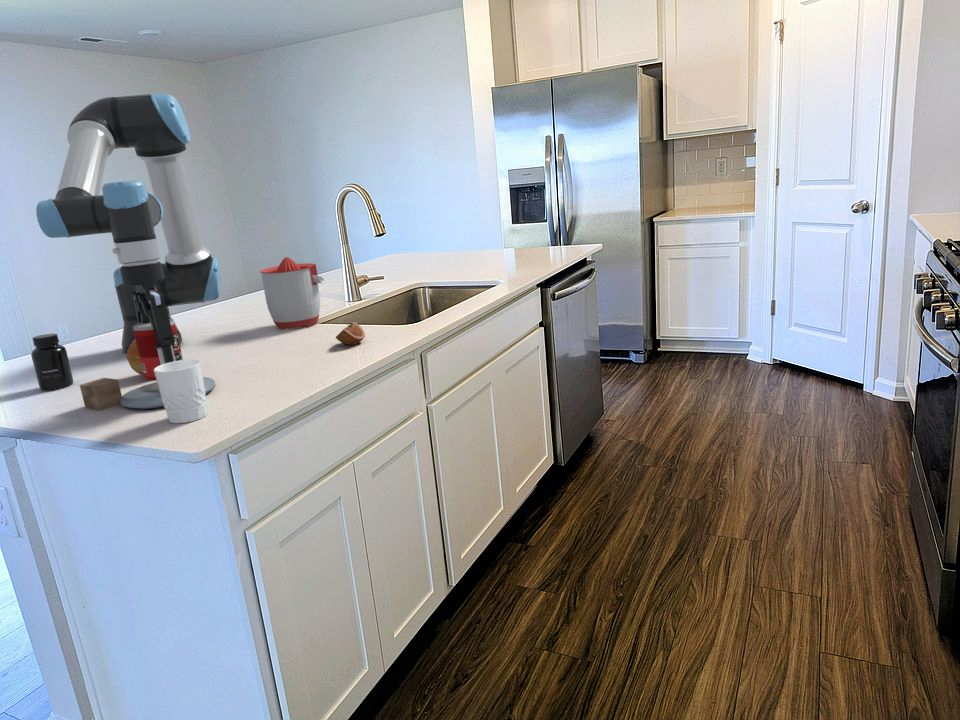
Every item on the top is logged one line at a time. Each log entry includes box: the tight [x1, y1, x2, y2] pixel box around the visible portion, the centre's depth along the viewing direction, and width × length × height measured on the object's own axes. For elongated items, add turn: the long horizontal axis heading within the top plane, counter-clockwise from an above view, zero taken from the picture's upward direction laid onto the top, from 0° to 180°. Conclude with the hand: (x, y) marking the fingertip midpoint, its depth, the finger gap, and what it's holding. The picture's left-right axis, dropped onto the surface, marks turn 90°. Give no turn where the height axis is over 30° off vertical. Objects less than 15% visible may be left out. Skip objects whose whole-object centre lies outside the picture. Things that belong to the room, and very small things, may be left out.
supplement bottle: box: [30, 333, 74, 391], centre depth 156 cm, size 7×7×12 cm
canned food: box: [133, 318, 184, 382], centre depth 139 cm, size 8×8×11 cm
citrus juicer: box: [259, 256, 325, 330], centre depth 199 cm, size 16×17×20 cm
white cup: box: [154, 358, 208, 424], centre depth 126 cm, size 8×8×10 cm
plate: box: [120, 376, 216, 409], centre depth 142 cm, size 18×18×1 cm
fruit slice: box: [335, 321, 366, 345], centre depth 171 cm, size 8×7×5 cm
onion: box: [126, 340, 144, 376], centre depth 158 cm, size 10×10×10 cm
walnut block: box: [79, 377, 123, 411], centre depth 139 cm, size 5×5×5 cm
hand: (164, 374), depth 141 cm, fingers closed on canned food, 8 cm apart
